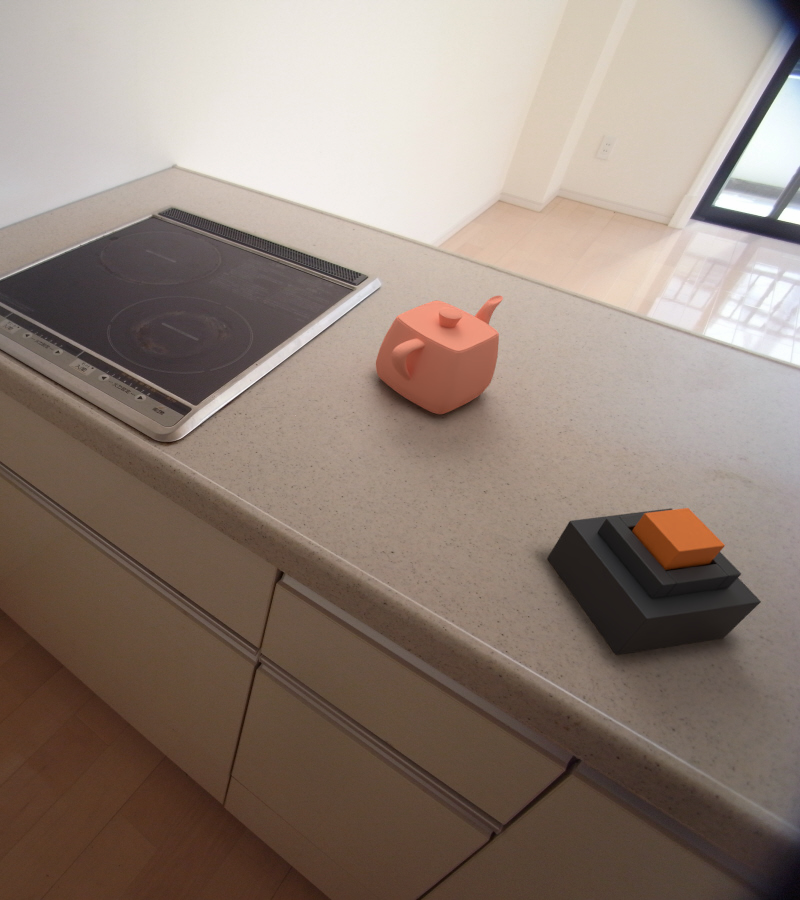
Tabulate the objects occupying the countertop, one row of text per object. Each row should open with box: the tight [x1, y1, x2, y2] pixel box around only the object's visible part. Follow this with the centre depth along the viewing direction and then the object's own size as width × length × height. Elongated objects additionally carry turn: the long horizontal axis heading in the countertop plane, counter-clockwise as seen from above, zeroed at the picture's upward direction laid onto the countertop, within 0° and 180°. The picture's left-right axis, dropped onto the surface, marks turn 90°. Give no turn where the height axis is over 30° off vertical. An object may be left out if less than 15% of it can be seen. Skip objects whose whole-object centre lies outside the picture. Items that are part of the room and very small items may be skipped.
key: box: [632, 507, 726, 570], centre depth 51 cm, size 4×4×2 cm
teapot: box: [375, 295, 504, 415], centre depth 76 cm, size 12×18×10 cm, turn 125°
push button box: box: [547, 507, 762, 656], centre depth 54 cm, size 10×10×7 cm
